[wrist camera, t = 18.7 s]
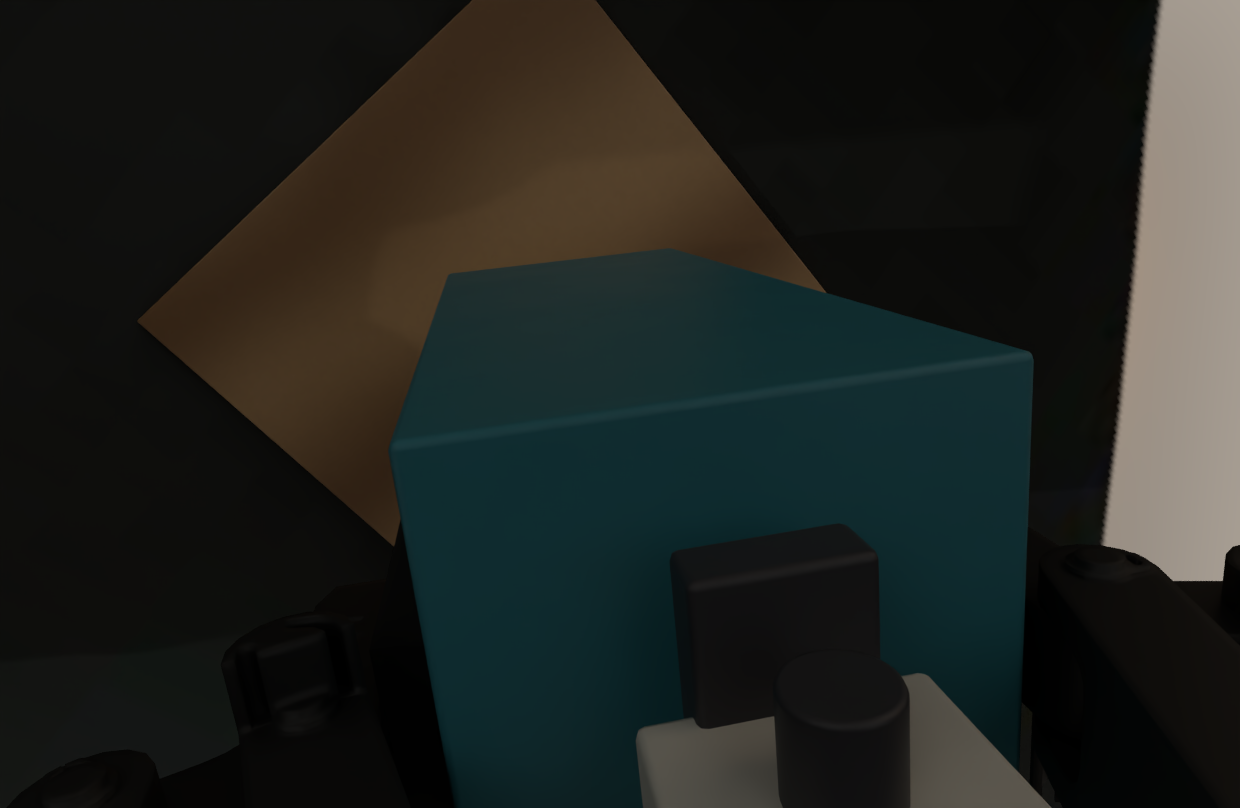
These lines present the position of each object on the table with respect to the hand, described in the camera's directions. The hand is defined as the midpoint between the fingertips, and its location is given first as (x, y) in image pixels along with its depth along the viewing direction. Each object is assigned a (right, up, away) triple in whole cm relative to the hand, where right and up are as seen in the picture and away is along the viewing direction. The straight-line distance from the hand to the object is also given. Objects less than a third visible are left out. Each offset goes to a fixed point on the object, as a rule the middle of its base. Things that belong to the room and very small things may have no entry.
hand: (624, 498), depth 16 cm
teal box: (+1, -6, 0) cm, 6 cm away
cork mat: (-2, +3, +12) cm, 13 cm away
